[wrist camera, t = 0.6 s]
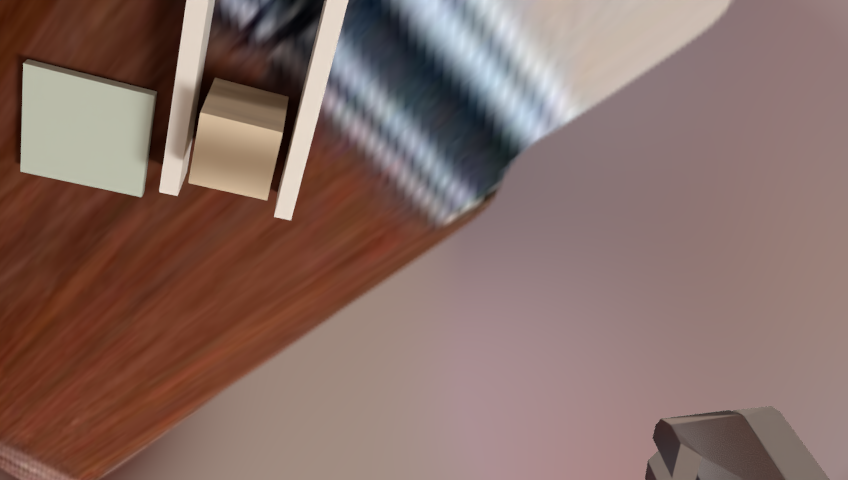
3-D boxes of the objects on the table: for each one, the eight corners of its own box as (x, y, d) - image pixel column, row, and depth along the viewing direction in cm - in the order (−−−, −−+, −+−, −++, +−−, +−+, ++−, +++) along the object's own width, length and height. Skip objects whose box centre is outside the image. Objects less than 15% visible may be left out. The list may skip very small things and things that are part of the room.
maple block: (215, 77, 46) (200, 112, 42) (288, 96, 48) (282, 132, 43) (203, 142, 49) (188, 182, 44) (274, 159, 50) (267, 200, 45)
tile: (27, 59, 44) (23, 63, 44) (157, 91, 47) (154, 96, 46) (24, 166, 48) (20, 171, 48) (144, 191, 50) (141, 197, 50)
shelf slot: (210, -105, 40) (200, -97, 38) (358, -57, 43) (360, -46, 40) (169, 168, 50) (159, 191, 47) (293, 196, 52) (290, 220, 49)
